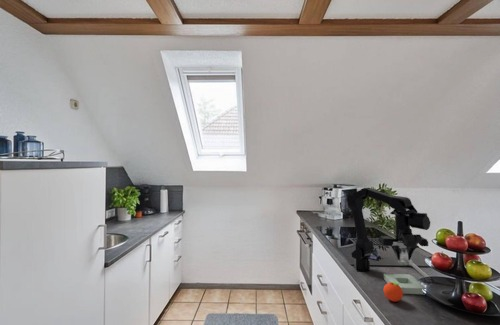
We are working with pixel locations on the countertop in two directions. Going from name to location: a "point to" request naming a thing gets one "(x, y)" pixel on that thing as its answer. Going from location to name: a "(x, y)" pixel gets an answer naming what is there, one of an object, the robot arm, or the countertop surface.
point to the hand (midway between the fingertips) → (403, 260)
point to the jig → (405, 283)
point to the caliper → (417, 268)
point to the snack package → (376, 253)
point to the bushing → (403, 256)
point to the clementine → (393, 291)
